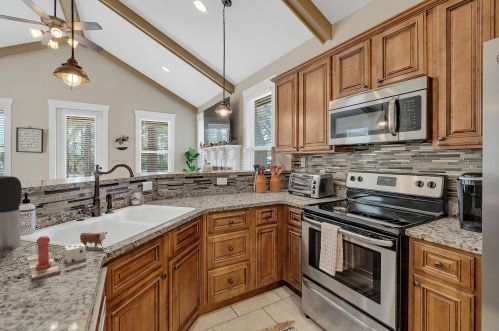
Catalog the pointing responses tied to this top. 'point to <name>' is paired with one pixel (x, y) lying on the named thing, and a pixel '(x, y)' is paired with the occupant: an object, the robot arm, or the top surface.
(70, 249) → the die
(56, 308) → the top surface
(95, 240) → the bull figurine
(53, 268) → the track board
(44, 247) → the pawn
